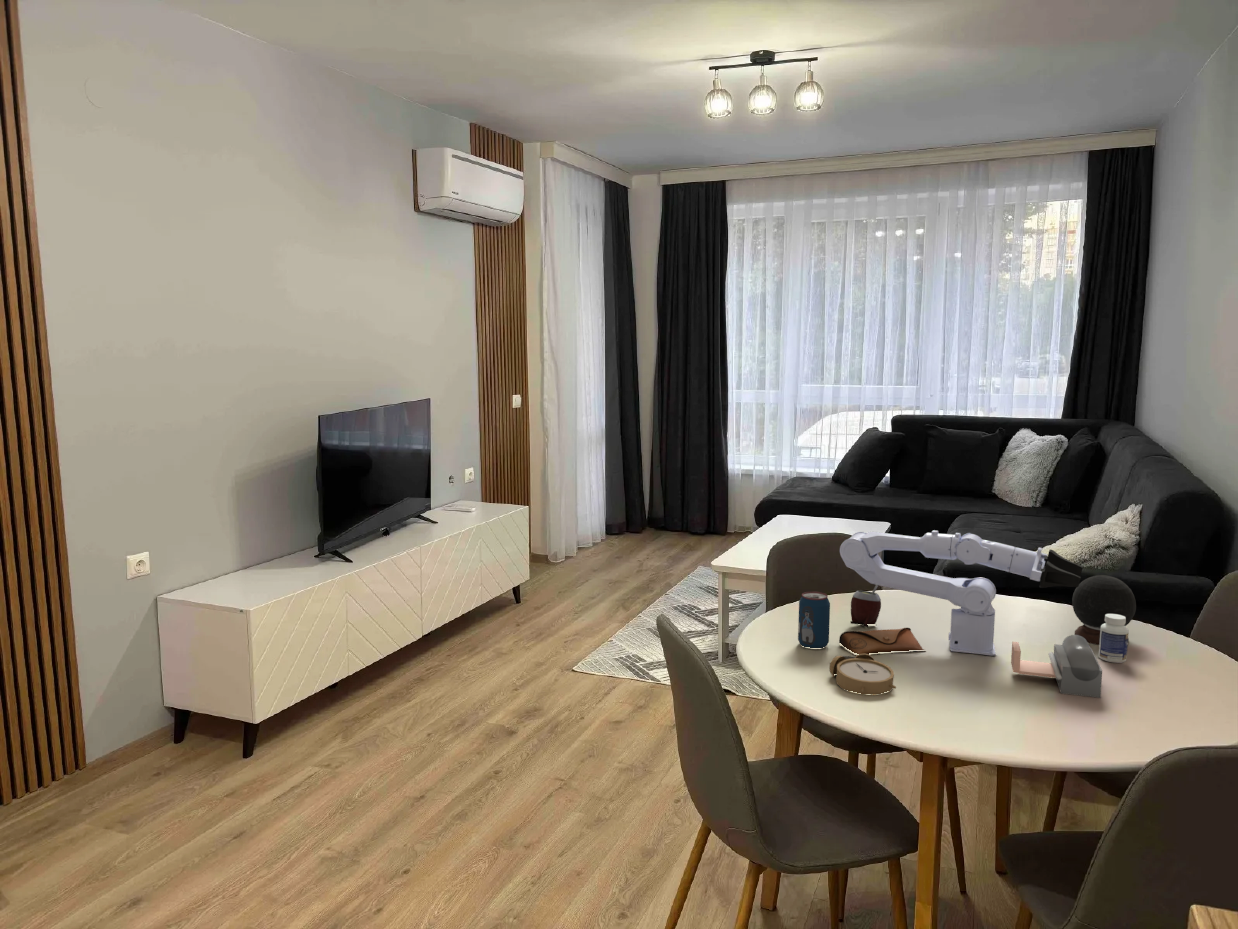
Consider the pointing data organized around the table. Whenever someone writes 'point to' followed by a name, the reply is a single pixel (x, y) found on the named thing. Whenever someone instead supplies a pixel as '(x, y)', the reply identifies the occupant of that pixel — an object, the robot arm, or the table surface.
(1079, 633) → the black ball on stand
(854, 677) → the alarm clock
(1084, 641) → the dispenser
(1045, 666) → the pink l-shaped bracket
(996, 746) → the table surface
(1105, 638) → the pill bottle
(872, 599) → the mate gourd
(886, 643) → the sunglasses case
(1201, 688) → the table surface
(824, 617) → the soda can
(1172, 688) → the table surface
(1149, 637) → the table surface
